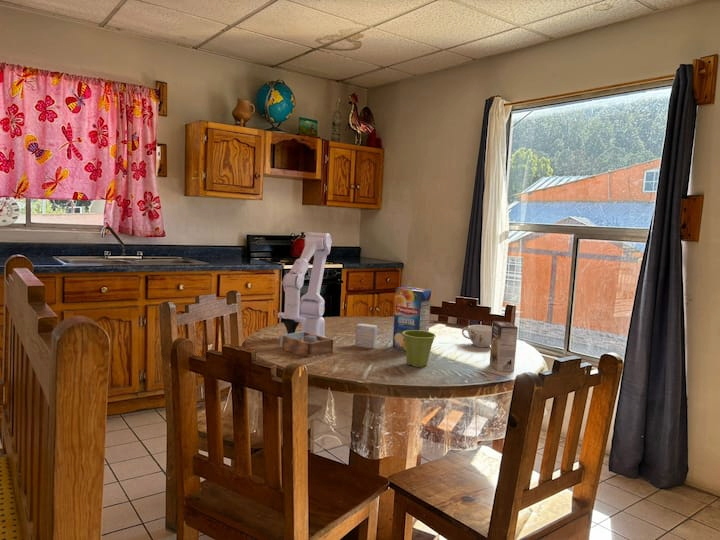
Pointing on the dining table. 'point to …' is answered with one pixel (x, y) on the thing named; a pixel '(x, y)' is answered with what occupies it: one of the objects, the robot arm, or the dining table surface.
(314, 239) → the robot arm
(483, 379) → the dining table surface
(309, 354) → the shallow wooden crate
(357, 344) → the medicine box
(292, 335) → the tray
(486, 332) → the teacup
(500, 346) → the coffee box
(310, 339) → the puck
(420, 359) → the plant pot
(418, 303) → the juice carton
